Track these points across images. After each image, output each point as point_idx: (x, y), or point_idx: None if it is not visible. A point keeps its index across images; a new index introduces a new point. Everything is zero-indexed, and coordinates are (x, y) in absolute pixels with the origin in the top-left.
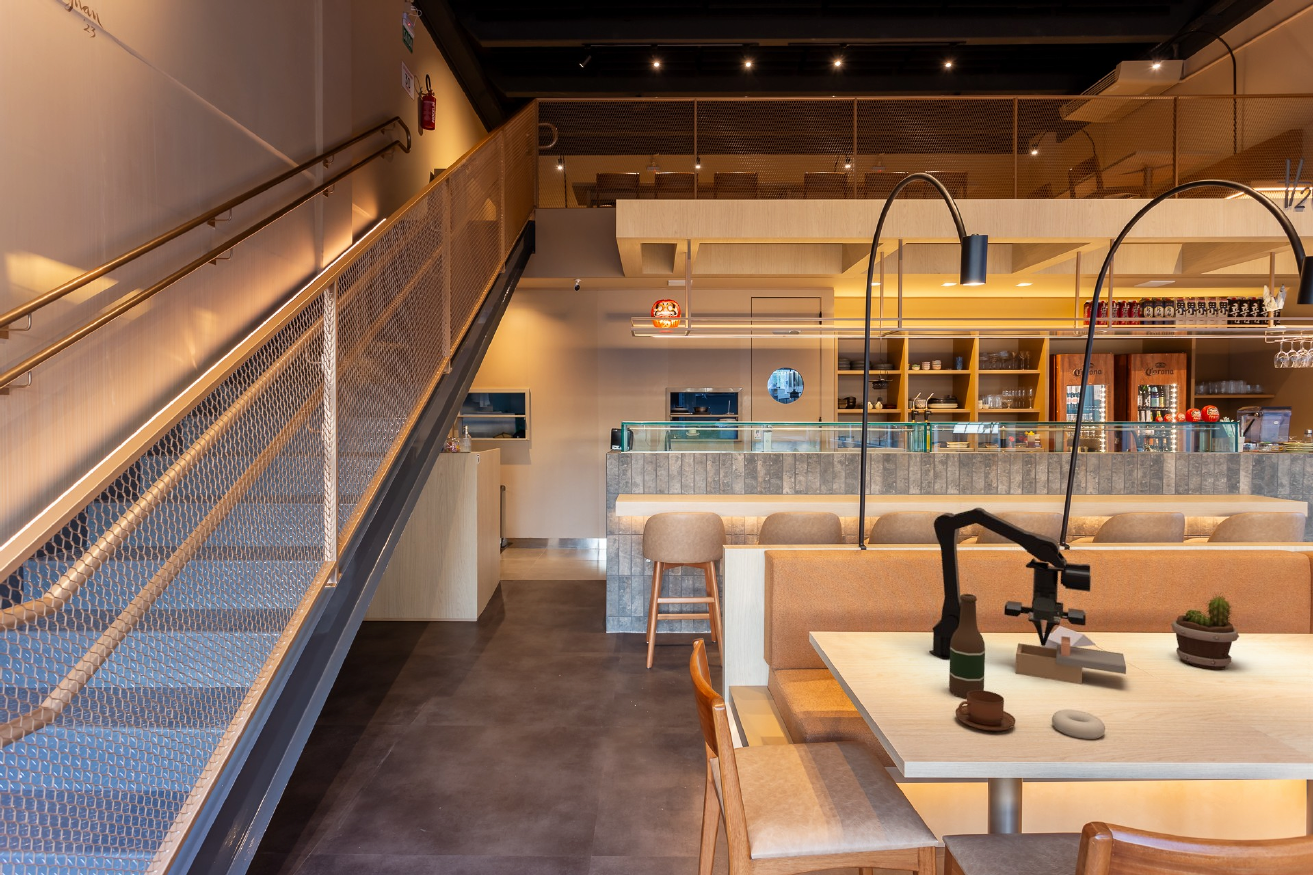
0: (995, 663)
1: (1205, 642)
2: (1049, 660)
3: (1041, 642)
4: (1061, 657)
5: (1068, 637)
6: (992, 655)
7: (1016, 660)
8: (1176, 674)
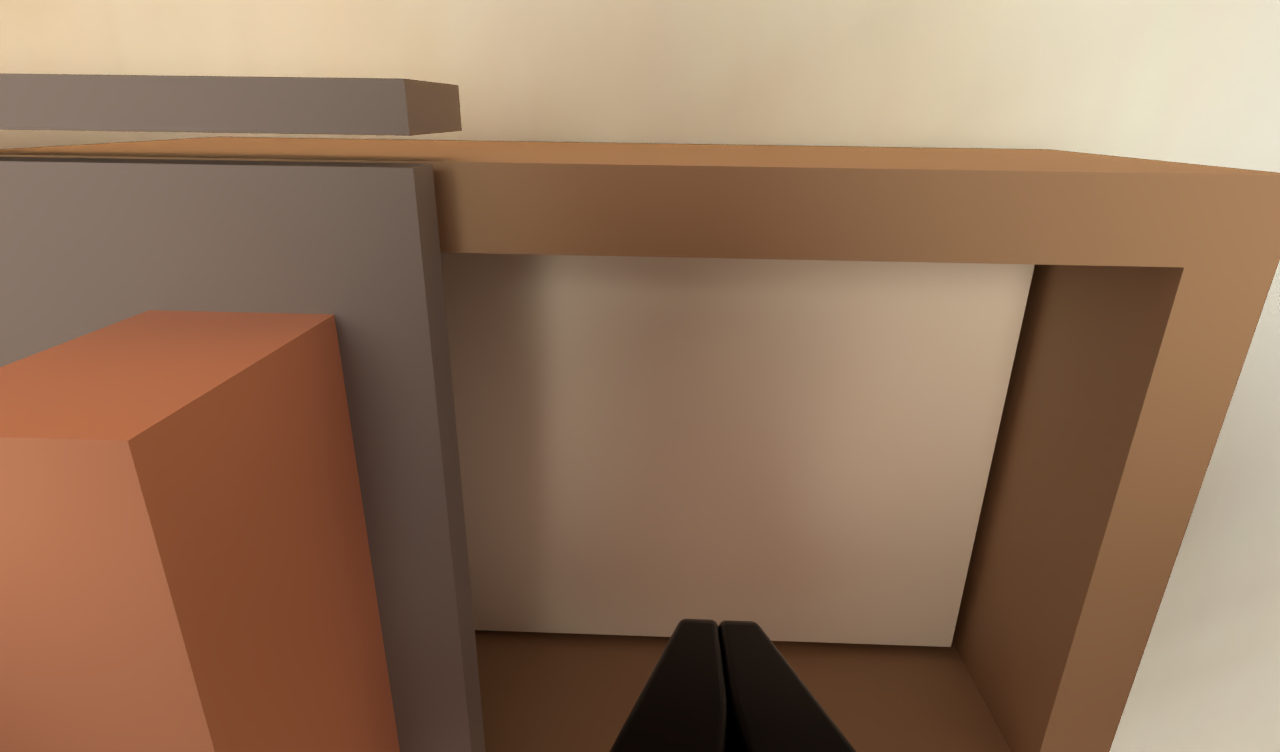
0: (1240, 459)
1: None
2: (586, 160)
3: (766, 660)
4: (287, 81)
5: None
6: (1202, 717)
7: (1172, 163)
8: None
